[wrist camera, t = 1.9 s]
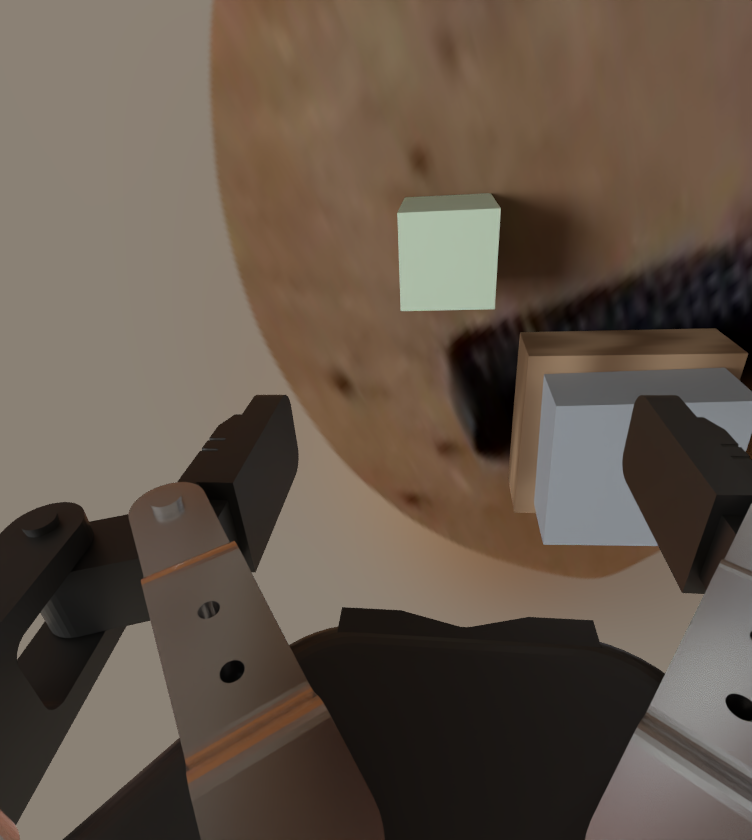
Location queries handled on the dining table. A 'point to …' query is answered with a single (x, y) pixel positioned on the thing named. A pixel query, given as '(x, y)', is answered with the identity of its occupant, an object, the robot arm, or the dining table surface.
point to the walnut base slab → (598, 355)
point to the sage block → (448, 252)
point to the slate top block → (614, 446)
